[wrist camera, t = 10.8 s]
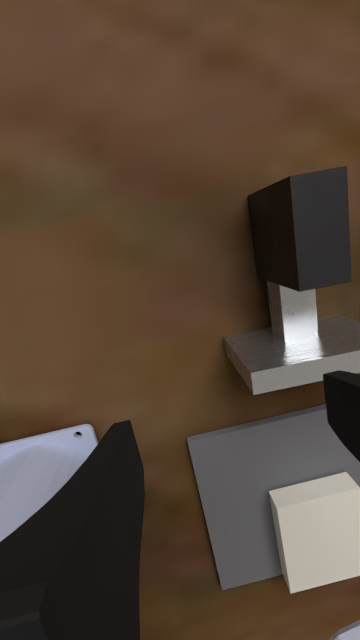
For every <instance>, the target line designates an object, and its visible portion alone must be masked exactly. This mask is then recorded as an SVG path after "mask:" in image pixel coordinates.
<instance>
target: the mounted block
mask: <svg viewBox="0 0 360 640" xmlns="http://www.w3.org/2000/svg"><path fill="white" fill-rule="evenodd" d="M248 203H249V212H250V220H251V229H252V237H253V246H254V254H255V263H256V272H257V278H260V279H263V280H266V281H267V288H268V297H269V306H270V316H271V325H272V327H270V328H265V329H260V330H255V331H250V332H245V333H240V334H235V335H230V336H225V337H223V338H224V345H225V352H226V355H227V356H228V358H229V359H230V361H231V362H232V363H233V365H234V366H235V368H236V369H237V371H238V372H239V374H240V375H241V377H242V378H243V380H244V381H245V383H246V384H247V386H248V387H249V389H250V390H251V392H252V393H253V395H256V394H261V393H265V392H270V391H275V390H280V389H285V388H289V387H294V386H299V385H304V384H308V383H313V382H318V381H323V374H325V373H329V372H334V371H338V370H340V371H346V372H351V373H355V374H356V373H360V322H358V321H356V320H353V319H350V318H348V317H345V316H343V315H340V314H335V315H330V316H325V317H320V318H317V310H316V296H315V289H317V288H322V287H327V286H332V285H337V284H342V283H347V282H351V259H350V234H349V210H348V185H347V166H344V167H338V168H333V169H327V170H322V171H316V172H311V173H305V174H300V175H294V176H289V177H287V178H285V179H283V180H281V181H279V182H276V183H274V184H272V185H270V186H268V187H266V188H263V189H261V190H259V191H257V192H255V193H253V194H250V195H248Z"/></svg>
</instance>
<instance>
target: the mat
mask: <svg viewBox="0 0 360 640" xmlns="http://www.w3.org/2000/svg"><path fill="white" fill-rule="evenodd" d="M187 442H188V446H189V451H190V455H191V459H192V463H193V468H194V472H195V476H196V481H197V485H198V489H199V493H200V498H201V502H202V506H203V510H204V515H205V519H206V523H207V528H208V532H209V536H210V540H211V545H212V549H213V553H214V557H215V562H216V566H217V570H218V574H219V579H220V583H221V587H222V590H225V589H229V588H233V587H237V586H241V585H245V584H249V583H252V582H256V581H260V580H264V579H268V578H272V577H276V576H279V575H283V573H282V568H281V562H280V556H279V550H278V545H277V539H276V533H275V527H274V521H273V515H272V509H271V503H270V497H269V491H271V490H275V489H279V488H283V487H287V486H291V485H295V484H299V483H303V482H307V481H311V480H315V479H319V478H323V477H327V476H331V475H335V474H339V473H343V472H347V473H348V474H349V476H350V477H351V478H352V479H353V480H354V481H355V483H356V484H357V485H358V486H359V487H360V462H359V461H358V460H357V459H356V458H355V457H354V456H353V455H352V454H351V452H350V451H349V450H348V449H347V448H346V447H345V446H344V445H343V443H342V442H341V441H340V439H339V438H338V437H337V435H336V434H335V432H334V431H333V430H332V428H331V427H330V425H329V424H328V420H327V411H326V404H323V405H319V406H315V407H311V408H307V409H302V410H298V411H294V412H290V413H286V414H282V415H277V416H273V417H269V418H265V419H261V420H257V421H253V422H248V423H244V424H240V425H236V426H232V427H228V428H223V429H219V430H215V431H211V432H207V433H203V434H198V435H194V436H190V437H187Z"/></svg>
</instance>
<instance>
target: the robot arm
mask: <svg viewBox="0 0 360 640" xmlns="http://www.w3.org/2000/svg"><path fill="white" fill-rule="evenodd" d="M323 381H324V391H325V401H326V411H327V420H328V424H329V425H330V427H331V428H332V430H333V431H334V432H335V434H336V435H337V437H338V438H339V439H340V441H341V442H342V443H343V445H344V446H345V447H346V448H347V449H348V450H349V451H350V452H351V454H352V455H353V456H354V457H355V458H356V459H357V460H358V461H359V462H360V375H359V374H355V373H351V372H346V371H340V370H338V371H334V372H329V373H325V374H323ZM76 432H81V433H82V435H77V434H76ZM144 497H145V491H144V470H143V464H142V461H141V457H140V454H139V450H138V447H137V443H136V439H135V436H134V432H133V429H132V425H131V422H130V420H127V421H123V422H118V423H114V424H113V425H112V426H111V427H110V428H109V430H108V431H107V432H106V434H105V435H104V437H103V438H102V439H101V441H100V442H99V443H98V441H97V437H96V434H95V431H94V428H93V427H92V426H91V425H89V424H83V425H79V426H74V427H70V428H66V429H62V430H58V431H53V432H49V433H45V434H41V435H36V436H32V437H28V438H24V439H19V440H15V441H11V442H7V443H2V444H0V640H140V624H139V562H140V549H141V537H142V524H143V511H144ZM330 640H360V620H359V621H356V622H354V623H352V624H350V625H348V626H346V627H344V628H342V629H340V630H338V631H337V632H336V633H335V634H334V635H333V636H332V637H331V639H330Z"/></svg>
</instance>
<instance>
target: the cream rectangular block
mask: <svg viewBox="0 0 360 640" xmlns="http://www.w3.org/2000/svg"><path fill="white" fill-rule="evenodd" d="M269 497H270V503H271V509H272V515H273V521H274V527H275V533H276V539H277V545H278V550H279V556H280V562H281V568H282V573H283V576H284V578H285V581H286V583H287V586H288V588H289V591H290V593H295V592H299V591H303V590H306V589H310V588H314V587H318V586H322V585H326V584H329V583H333V582H337V581H341V580H345V579H348V578H352V577H356V576H360V487H359V486H358V485H357V484H356V483H355V481H354V480H353V479H352V478H351V477H350V476H349V474H348V473H347V472H343V473H339V474H335V475H331V476H327V477H323V478H319V479H315V480H311V481H307V482H303V483H299V484H295V485H291V486H287V487H283V488H279V489H275V490H271V491H269Z"/></svg>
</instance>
